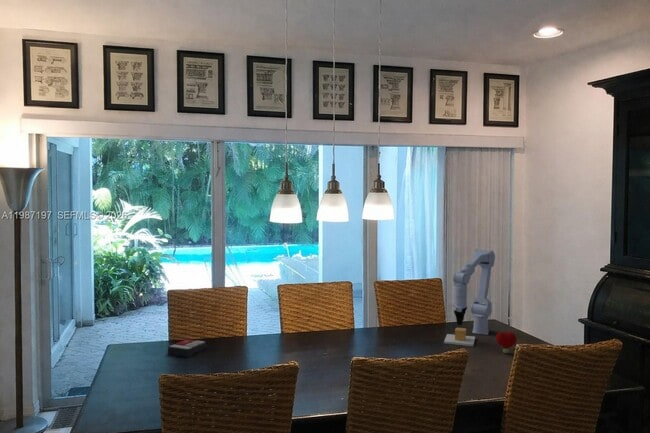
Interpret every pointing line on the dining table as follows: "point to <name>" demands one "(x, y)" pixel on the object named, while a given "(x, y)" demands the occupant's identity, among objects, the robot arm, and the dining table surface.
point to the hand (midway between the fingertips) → (460, 322)
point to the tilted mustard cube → (460, 334)
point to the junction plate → (451, 340)
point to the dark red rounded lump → (506, 340)
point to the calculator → (186, 348)
